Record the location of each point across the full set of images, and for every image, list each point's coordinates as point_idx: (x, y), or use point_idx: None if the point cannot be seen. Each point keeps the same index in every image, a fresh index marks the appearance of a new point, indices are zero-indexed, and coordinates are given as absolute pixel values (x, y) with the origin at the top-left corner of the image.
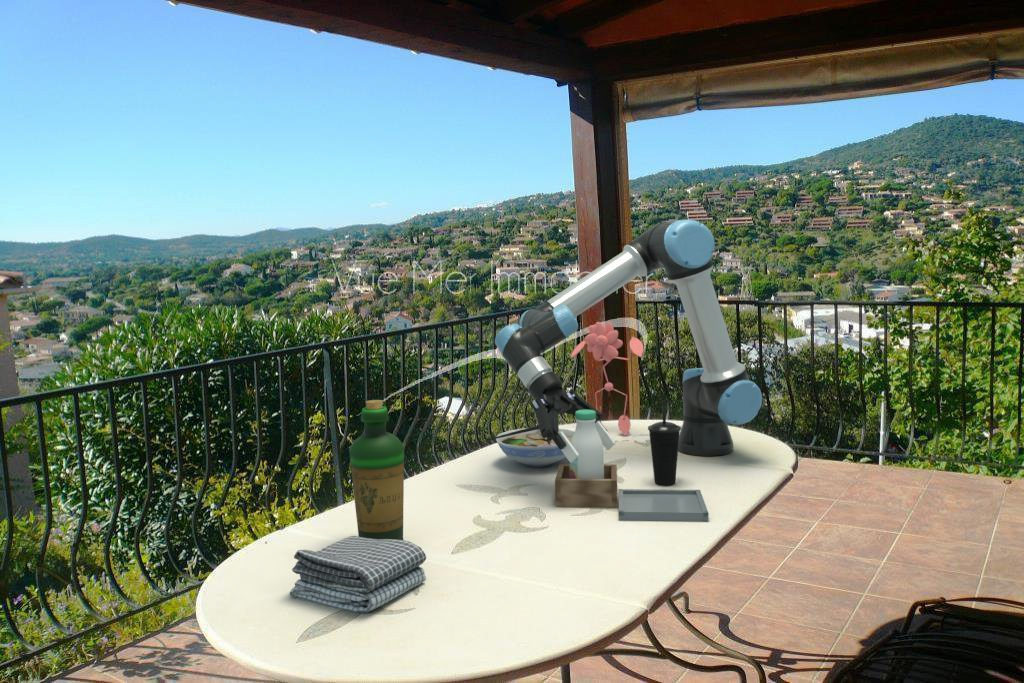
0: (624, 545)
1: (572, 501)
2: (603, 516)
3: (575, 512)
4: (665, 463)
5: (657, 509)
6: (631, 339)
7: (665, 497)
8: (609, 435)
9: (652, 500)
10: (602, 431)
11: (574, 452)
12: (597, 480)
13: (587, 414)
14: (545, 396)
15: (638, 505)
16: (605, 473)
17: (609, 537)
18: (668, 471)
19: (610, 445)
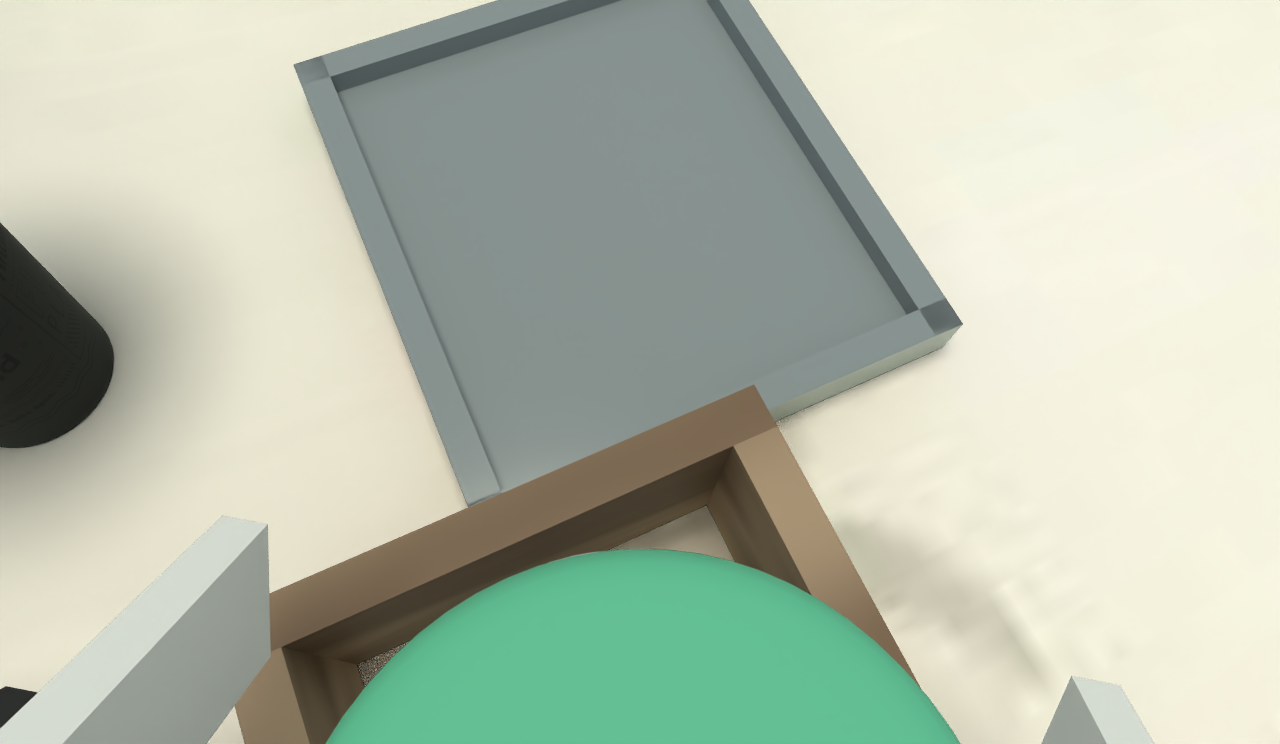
0: (1250, 183)
1: None
2: (930, 463)
3: (971, 680)
4: (15, 251)
5: (723, 185)
6: None
7: (468, 219)
8: (150, 603)
9: (564, 267)
10: (105, 734)
11: (1145, 734)
12: (837, 538)
13: (913, 686)
14: None
15: (704, 305)
16: (326, 713)
17: (1211, 286)
18: (45, 271)
19: (263, 588)
